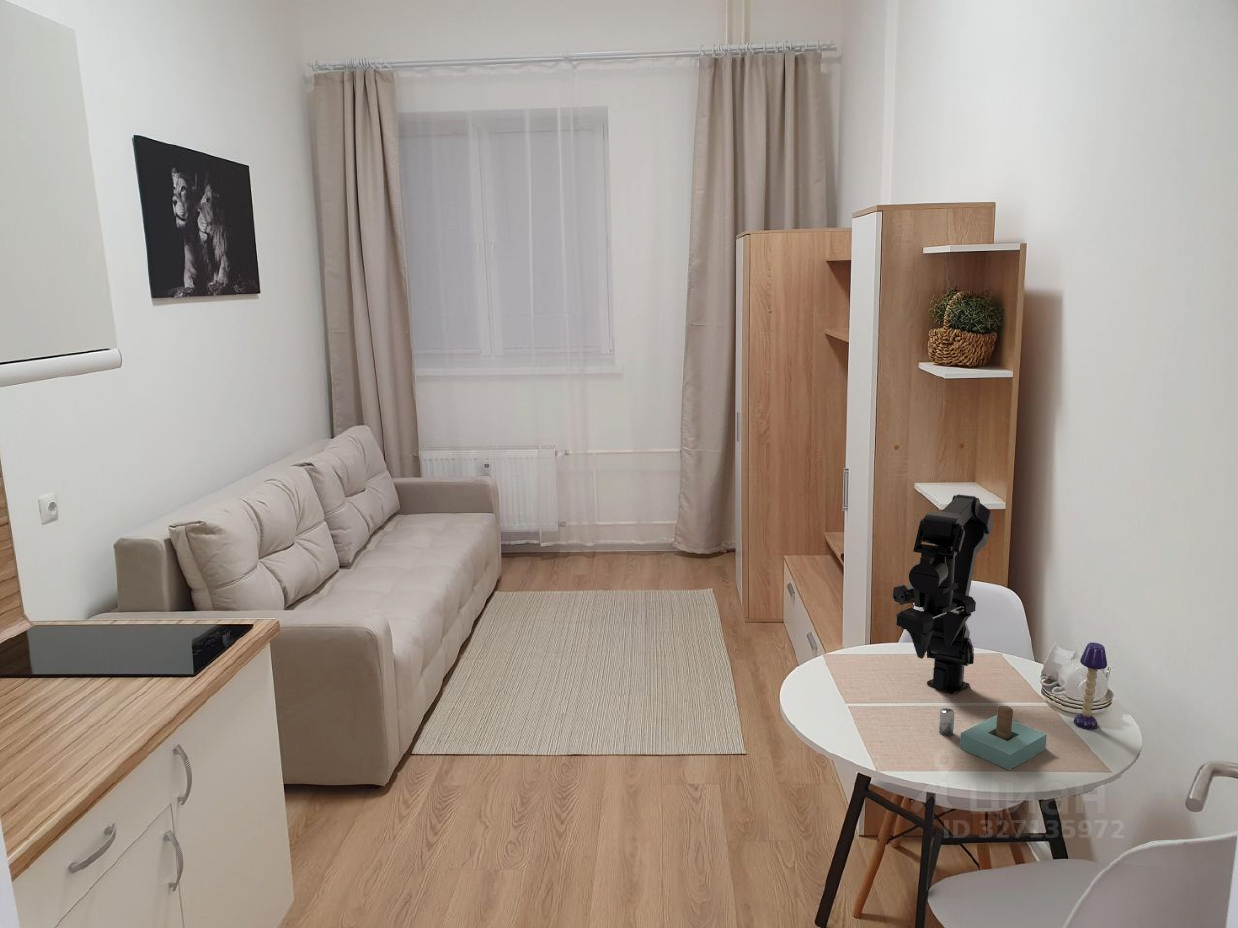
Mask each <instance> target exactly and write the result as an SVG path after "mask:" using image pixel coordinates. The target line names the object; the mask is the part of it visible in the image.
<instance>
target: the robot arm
mask: <svg viewBox="0 0 1238 928" xmlns="http://www.w3.org/2000/svg"><path fill="white" fill-rule="evenodd" d="M993 528H994V519H993V513H992V511H991V510H990V509H989V508H988V507H986V505H983V504H982V503H981V499H980V498H979V497H976V496H974V495H967V494H966V495H965V494H960V493H959V494H955V495H953V496H952V499H951V501H950V502H949V503H948V504H947V505H946V506H945V507H944V508H943V509H942V510H941V511H936V512H933V511H932V512H929V513H927V514H925V515H924V517H923V518H921V519H920V521H919V525H918V530H917V532H916V537H915V541H914V546H913V551H912V552H913V553H917V554H920V558H919V561H918V562H917V563H916V564H914V565H913V566H912V568H911V569H910V570H909V573H908V581H909V585H905V584H902V585H896V586H893V589H892V599H893V601H894V602H895V603H898V605H900V606H904V605H905V604H906V605H907V604H914V607H917V608H922V611H921V610H918V609H916V608H912V607H909V608H906V609H904V610H902V611H899V612H897V614H896V615H895V625H896V626H898V627H900V628H901V629H903V630H906V632H908V633H909V636H910V639H911V640H912V643H913V647H914V649H915V652H916V653H915V654H916V656H917V658H918V659H921V660H922V659H923V660H924V658H925V656H926V658H927V659H933V660H934V662H933V663H934V664H933V669H932V670H933V672H932V674H933V675H932V679H930V680H927V681H926V684H927V685H928V686H931V687H933V688H935V689H937V690H941V691H943V692H945V693H948V694H951V695H954V694H956V693H959V692H961V691H963V690H964V689H967V688H969V687H970V685H971V684H970V683H969V682H966V681H964V677H965V675H964V674H965V667H968V666H969V665H973V664H974V663H975V662H974V661H975V653H974V651H975V649H974V644H973V642H972V639H971V638H970V635H971V632H970V629H969V627H968V625H967V621H968V619H969V618H970V617H971V616H972V613H974V612H976V608H977V607H976V604H977V602H976V601H975V600H976V599H974V598H973V596H970V591H971V586H972V579H973V575H974V570H975V565H976V560H977V555H978V553H979V552H980V551H981V550H982V549H983V548H984V547H985V546H986V545H987V544H988V540H989V537H990V535H992V532H993V530H994V529H993Z"/></svg>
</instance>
